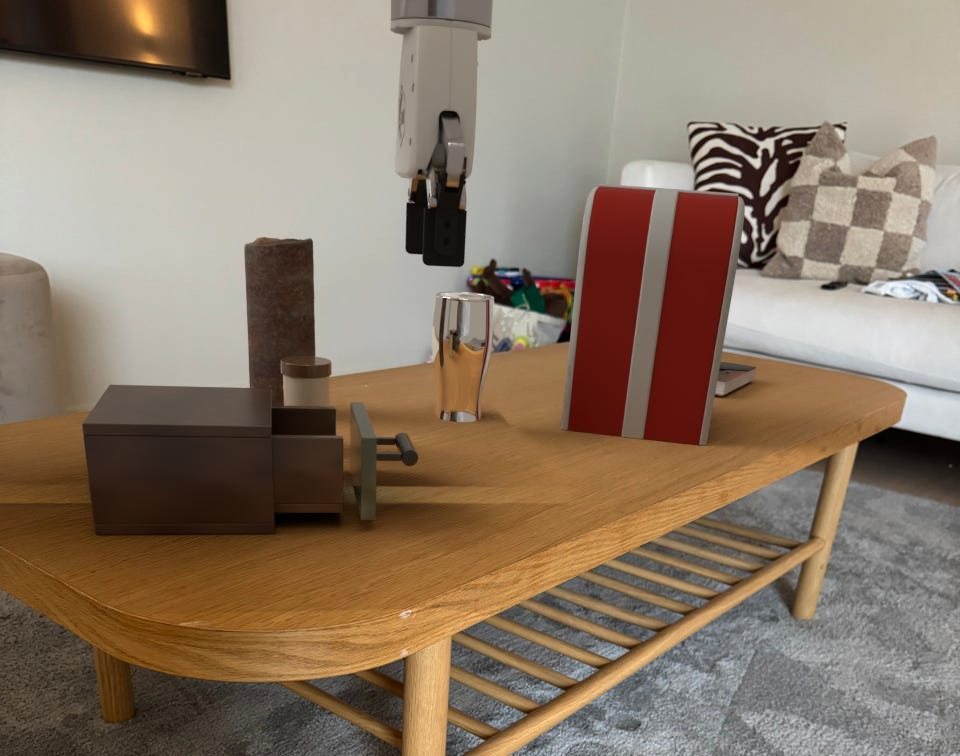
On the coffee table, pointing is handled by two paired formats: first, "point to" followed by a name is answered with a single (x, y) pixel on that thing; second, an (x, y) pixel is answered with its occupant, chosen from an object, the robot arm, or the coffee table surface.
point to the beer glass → (461, 353)
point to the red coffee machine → (651, 311)
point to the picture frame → (733, 377)
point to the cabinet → (181, 460)
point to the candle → (278, 308)
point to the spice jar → (306, 381)
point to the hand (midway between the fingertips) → (433, 259)
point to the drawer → (327, 459)
